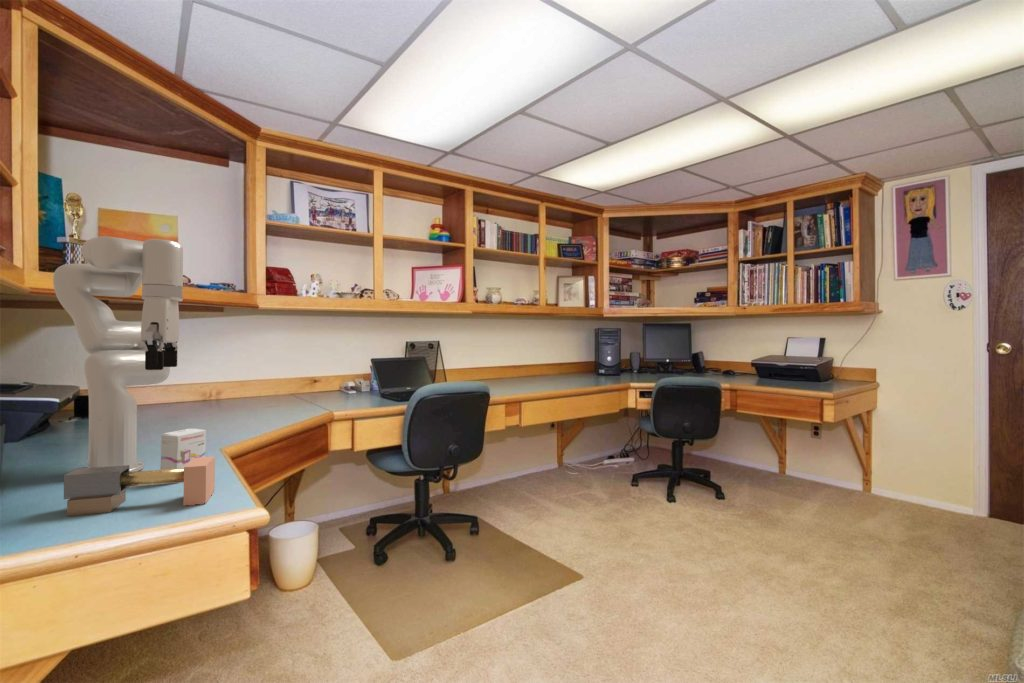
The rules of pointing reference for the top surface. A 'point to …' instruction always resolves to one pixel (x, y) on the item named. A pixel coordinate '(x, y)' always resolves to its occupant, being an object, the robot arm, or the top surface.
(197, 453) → the ink box
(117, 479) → the grey block
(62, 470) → the top surface
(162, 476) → the tube
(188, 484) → the socket
